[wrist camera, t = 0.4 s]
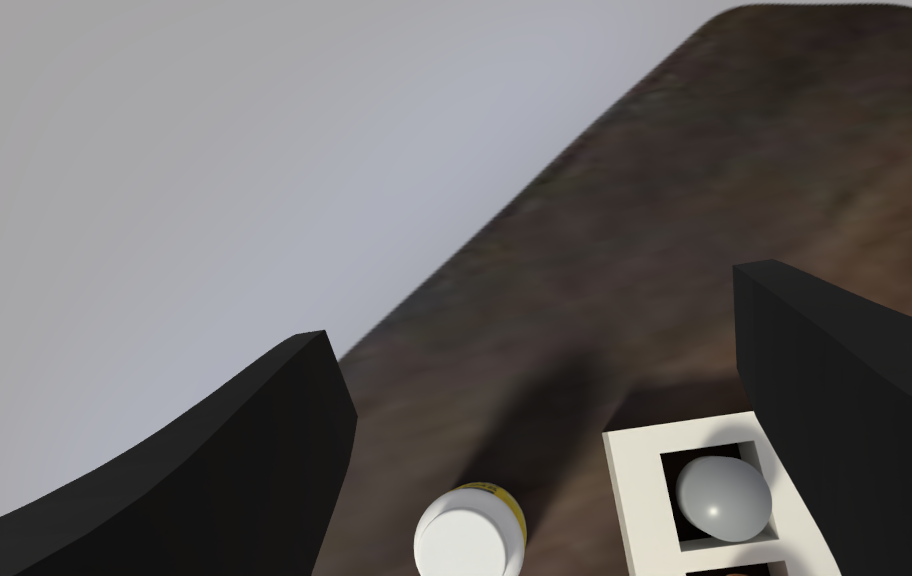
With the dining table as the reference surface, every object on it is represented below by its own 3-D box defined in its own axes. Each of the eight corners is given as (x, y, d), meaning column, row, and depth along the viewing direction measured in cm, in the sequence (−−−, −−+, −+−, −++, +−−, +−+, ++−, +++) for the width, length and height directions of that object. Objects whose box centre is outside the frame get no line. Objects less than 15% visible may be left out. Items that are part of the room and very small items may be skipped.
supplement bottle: (506, 466, 37) (497, 475, 28) (541, 558, 36) (543, 600, 27) (422, 499, 38) (385, 518, 28) (453, 592, 36) (425, 645, 27)
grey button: (761, 528, 33) (781, 535, 30) (684, 538, 33) (698, 546, 31) (742, 450, 34) (760, 451, 31) (668, 461, 34) (679, 462, 32)
